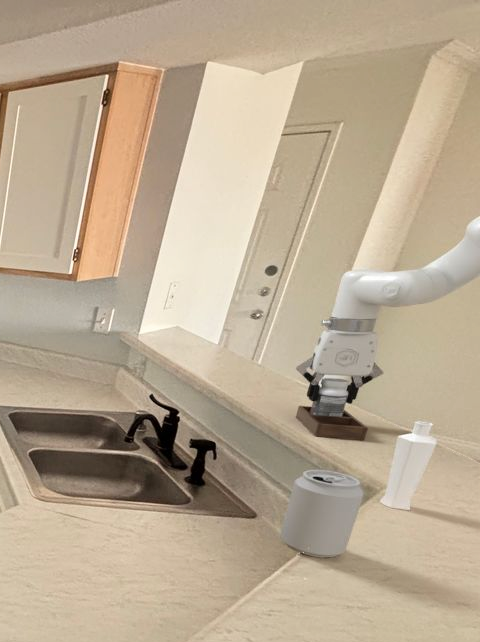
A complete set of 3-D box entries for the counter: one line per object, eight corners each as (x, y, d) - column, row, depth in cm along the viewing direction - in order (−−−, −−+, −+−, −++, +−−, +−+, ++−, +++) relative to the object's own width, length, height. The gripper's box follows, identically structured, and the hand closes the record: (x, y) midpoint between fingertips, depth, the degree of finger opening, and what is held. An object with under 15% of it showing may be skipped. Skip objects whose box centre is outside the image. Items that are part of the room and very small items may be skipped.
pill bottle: (310, 415, 146) (321, 376, 143) (341, 419, 142) (353, 379, 139) (306, 420, 142) (317, 380, 139) (338, 424, 138) (350, 384, 135)
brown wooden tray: (339, 420, 144) (343, 408, 143) (364, 440, 131) (368, 427, 130) (295, 417, 148) (298, 405, 147) (314, 436, 135) (318, 423, 134)
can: (267, 535, 94) (286, 466, 90) (322, 537, 93) (343, 467, 89) (297, 558, 87) (319, 485, 83) (356, 562, 86) (381, 487, 82)
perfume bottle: (423, 511, 99) (454, 427, 94) (393, 510, 100) (422, 427, 95) (400, 499, 103) (429, 419, 98) (371, 499, 104) (398, 419, 99)
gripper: (306, 327, 135) (287, 402, 141) (410, 329, 127) (384, 408, 133) (297, 322, 142) (279, 394, 148) (396, 324, 134) (372, 400, 140)
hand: (329, 400), depth 140 cm, fingers closed on pill bottle, 5 cm apart
